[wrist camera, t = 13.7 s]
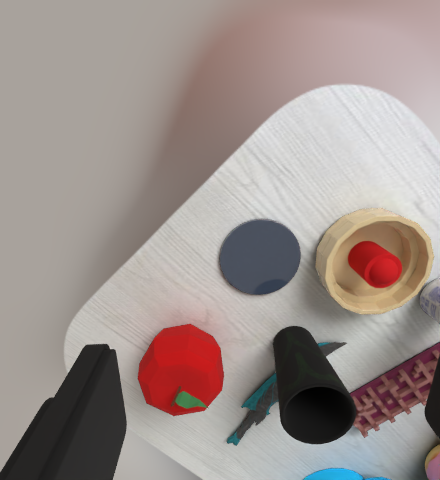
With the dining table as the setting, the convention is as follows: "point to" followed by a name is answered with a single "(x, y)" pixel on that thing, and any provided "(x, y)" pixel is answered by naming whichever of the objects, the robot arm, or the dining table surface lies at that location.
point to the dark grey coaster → (260, 256)
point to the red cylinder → (374, 264)
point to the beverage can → (431, 299)
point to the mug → (338, 475)
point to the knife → (268, 398)
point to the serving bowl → (387, 236)
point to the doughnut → (433, 464)
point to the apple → (181, 370)
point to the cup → (310, 390)
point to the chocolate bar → (395, 391)
